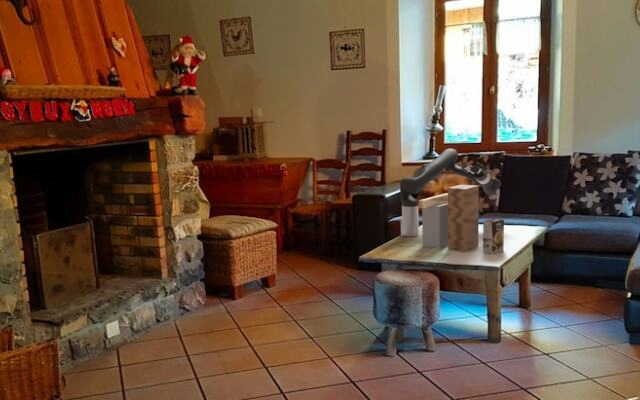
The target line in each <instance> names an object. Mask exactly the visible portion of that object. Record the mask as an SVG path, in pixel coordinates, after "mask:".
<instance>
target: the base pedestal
mask: <svg viewBox="0 0 640 400" xmlns="http://www.w3.org/2000/svg"><path fill="white" fill-rule="evenodd" d="M421 209H422V212H421V213H422V214H421V215H422V220H421V222H422V223H421V224H422V247H427V248H433V247H434V248H435V249H441V247H442V248H444V247H446V246H447V247H448V203H442V204H439V205H436V206H432V207H429V208H425V209H423V208H421Z"/></svg>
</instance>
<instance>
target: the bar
mask: <svg viewBox="0 0 640 400" xmlns="http://www.w3.org/2000/svg"><path fill="white" fill-rule="evenodd" d="M442 203H445V204H447V203H448V192H445V193H441V194H438V195H434V196H431V197H427V198H423V199H419V200H418V209H422V208H423V209H425V208H429V207H432V206H436V205H439V204H442Z"/></svg>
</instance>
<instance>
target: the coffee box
mask: <svg viewBox="0 0 640 400" xmlns="http://www.w3.org/2000/svg"><path fill="white" fill-rule="evenodd" d="M482 222H483V225H482V226H483V227H482V228H483V229H482V230H483V232H482V233H483V234H482V252H483V253H487V254H491V255H494V254H498V253H502V252H504V249H505V248H504V244H505V243H504V240H505V239H504V238H505V236H504V235H505V231H504V230H505V225H504V224H505V219H501V218H500V219H499V218H491V219H486V220H483V221H482Z"/></svg>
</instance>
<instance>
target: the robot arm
mask: <svg viewBox="0 0 640 400" xmlns="http://www.w3.org/2000/svg"><path fill="white" fill-rule="evenodd" d="M458 157H459V153H458V151H457V150H456V149H454V148H446V149H444V150H443V151H442V152H441V153H440V154H439V155H438V156H437V157H436V158H434V159H433V160H431V162H428V163H427V164H426V165H424V166H423V167H422V169H421V172H420V175H419V176H417V177H406V176H405V177H402V179H401V180H400V184H399V193H400V202H401V218H400V235H401V236H404V237H417V236H419V232H420V231H419V228H420V227H419V200H418V199H416V198H414V197H413V196H412V195H416V194H417V195H418V194H419V193H420V192H421V191H422V189H424V188H425V187H426V186H427V185H428V184H429V183H430V182H432V181H433V180H435V179H436V178H437V177H439V176H440V175H441V173H442V172H443V171H444V170H445V169H446V170H448V171H451V172H453V173H456V174H458V175H460V176H463V177H464V178H466V179H468V180H470V181H472V182H473V183H474V184H477V186H481V187H482V189H483V192H484V193H485V194H486V195H488V196H494V195H495V194H496V192H497V191H498V190H499V188H500V187H501V186H502V182H501V181H500V179H498V178H496V177H493V176H491V174H490V173H489V171H490V169H489V168H488V166H487V165H483V164H481V163H480V162H476V165H474V166H473V165H471V164H467V163H466V162H465V161H463V162H461V166H459V165H457V164H456V163H457V160H458Z"/></svg>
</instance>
